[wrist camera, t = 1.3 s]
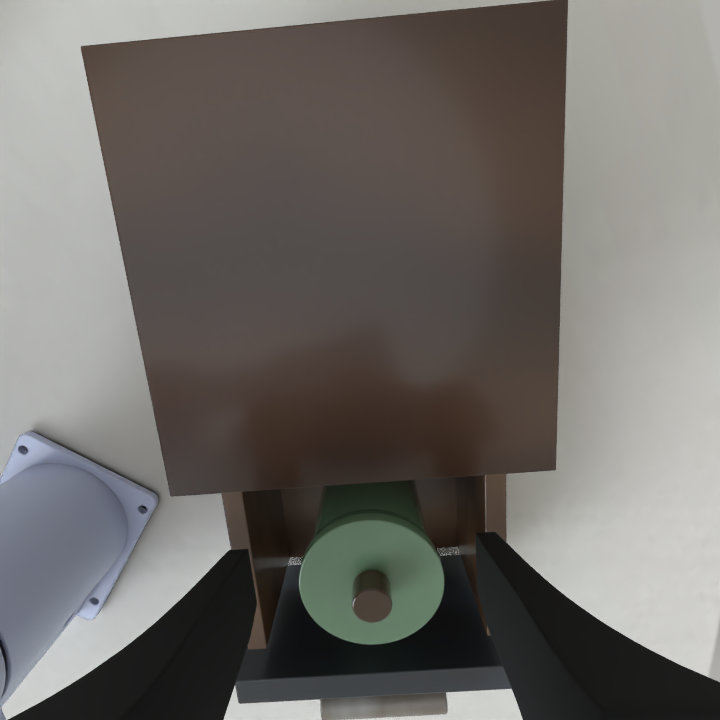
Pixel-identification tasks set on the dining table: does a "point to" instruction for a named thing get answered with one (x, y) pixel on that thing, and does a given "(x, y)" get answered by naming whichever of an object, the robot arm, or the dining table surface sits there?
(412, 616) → the pot
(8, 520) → the robot arm
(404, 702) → the drawer
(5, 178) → the dining table surface
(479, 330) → the cabinet
